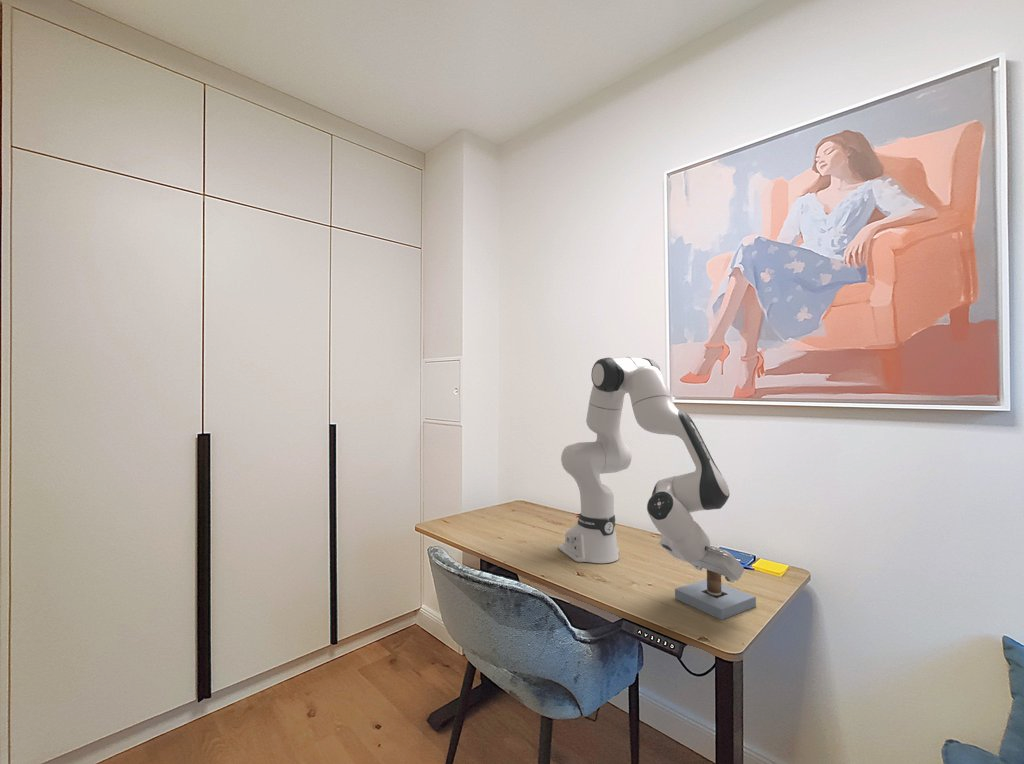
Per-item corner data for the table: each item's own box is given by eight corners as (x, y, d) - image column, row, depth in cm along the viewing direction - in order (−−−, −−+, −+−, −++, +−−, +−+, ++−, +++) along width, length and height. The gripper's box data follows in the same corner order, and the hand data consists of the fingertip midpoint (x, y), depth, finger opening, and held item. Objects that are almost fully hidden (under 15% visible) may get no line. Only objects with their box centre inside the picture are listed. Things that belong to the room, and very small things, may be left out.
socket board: (675, 598, 124) (674, 588, 124) (708, 587, 131) (708, 578, 132) (721, 619, 112) (721, 609, 112) (755, 606, 119) (755, 596, 119)
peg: (704, 601, 123) (703, 555, 123) (712, 598, 124) (712, 553, 125) (716, 606, 119) (715, 559, 120) (724, 603, 121) (723, 557, 122)
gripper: (733, 543, 110) (758, 576, 115) (665, 523, 128) (689, 552, 132) (721, 565, 108) (747, 598, 112) (654, 541, 125) (679, 571, 130)
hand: (715, 573), depth 122 cm, fingers open, 8 cm apart
